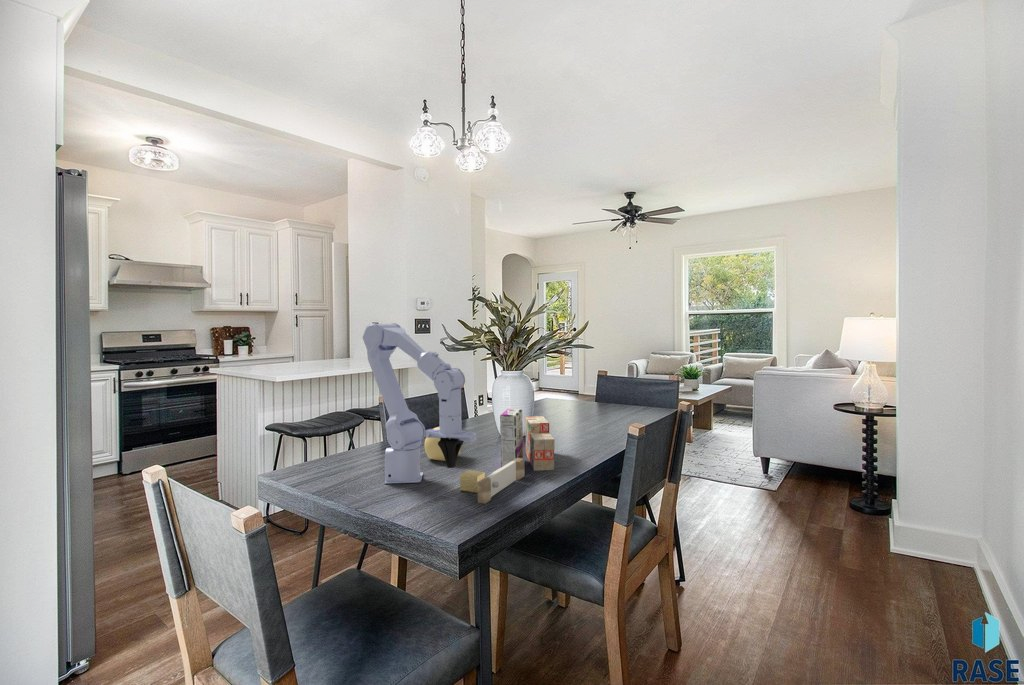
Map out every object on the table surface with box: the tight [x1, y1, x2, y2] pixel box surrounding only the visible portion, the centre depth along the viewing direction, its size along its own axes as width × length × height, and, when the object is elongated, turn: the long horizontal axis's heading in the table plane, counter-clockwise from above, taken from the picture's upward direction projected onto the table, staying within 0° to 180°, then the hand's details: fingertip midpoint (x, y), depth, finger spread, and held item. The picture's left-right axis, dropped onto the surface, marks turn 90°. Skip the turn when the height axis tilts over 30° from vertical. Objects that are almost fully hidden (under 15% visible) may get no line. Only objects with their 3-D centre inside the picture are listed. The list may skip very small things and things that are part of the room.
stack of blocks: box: [524, 415, 556, 471], centre depth 152 cm, size 21×6×12 cm, turn 5°
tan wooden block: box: [459, 469, 486, 495], centre depth 125 cm, size 5×4×4 cm
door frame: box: [477, 457, 526, 505], centre depth 126 cm, size 2×23×5 cm, turn 155°
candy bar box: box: [499, 408, 524, 468], centre depth 147 cm, size 11×5×16 cm, turn 168°
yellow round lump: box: [424, 426, 463, 462], centre depth 155 cm, size 11×12×11 cm
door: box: [485, 461, 517, 498], centre depth 125 cm, size 2×15×5 cm, turn 155°
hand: (451, 466), depth 128 cm, fingers closed
